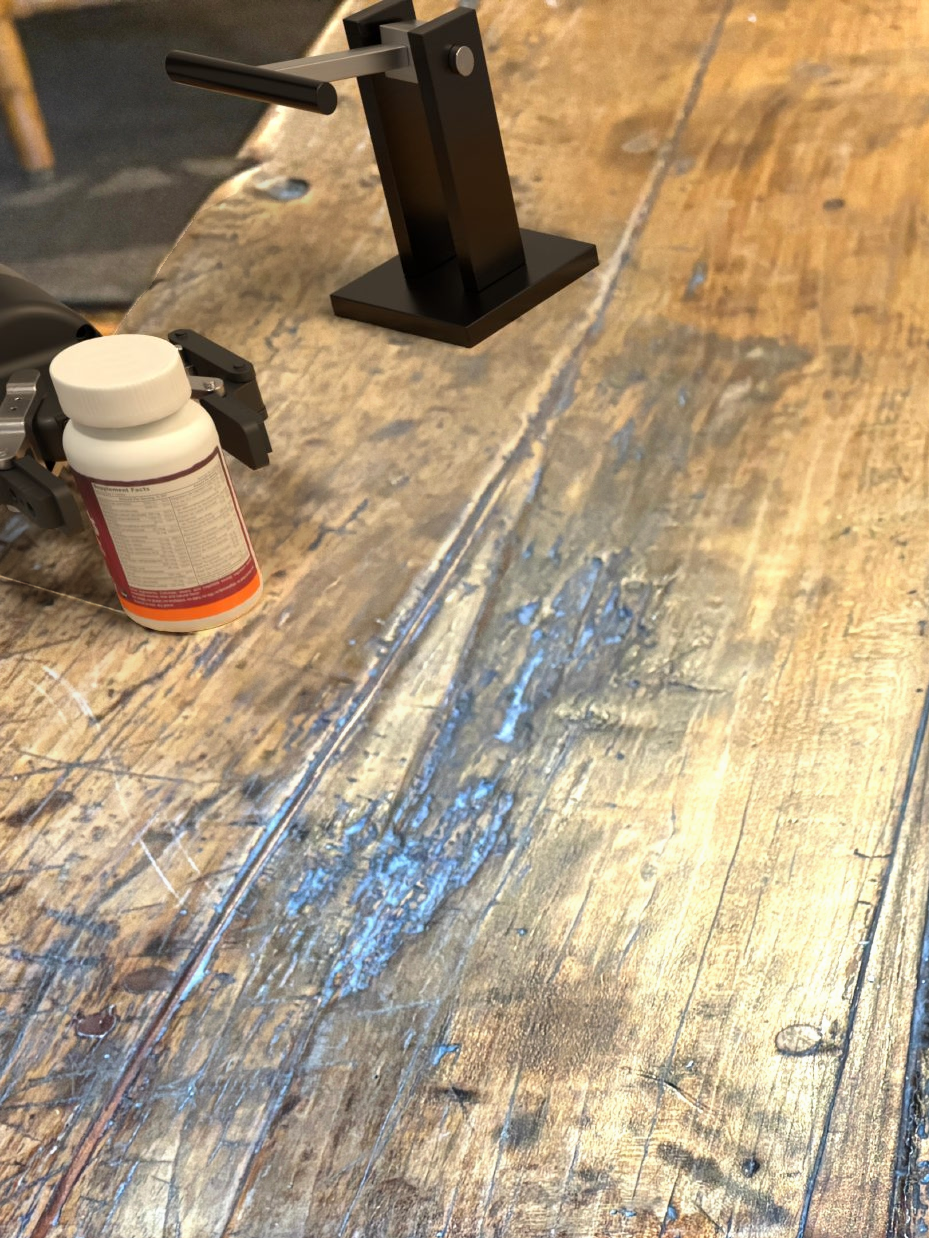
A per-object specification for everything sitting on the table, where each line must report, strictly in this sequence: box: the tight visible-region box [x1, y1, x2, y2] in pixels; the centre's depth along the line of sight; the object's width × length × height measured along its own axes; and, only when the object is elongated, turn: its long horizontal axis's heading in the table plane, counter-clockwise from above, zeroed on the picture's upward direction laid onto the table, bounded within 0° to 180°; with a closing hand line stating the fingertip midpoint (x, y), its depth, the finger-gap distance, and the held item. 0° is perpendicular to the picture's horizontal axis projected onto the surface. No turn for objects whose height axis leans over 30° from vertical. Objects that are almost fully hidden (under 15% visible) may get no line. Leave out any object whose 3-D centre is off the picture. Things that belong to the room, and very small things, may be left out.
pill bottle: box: [49, 333, 264, 633], centre depth 96 cm, size 6×6×11 cm
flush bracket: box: [329, 0, 600, 349], centre depth 118 cm, size 12×9×14 cm
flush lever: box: [164, 18, 428, 116], centre depth 110 cm, size 14×9×2 cm, turn 157°
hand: (167, 479), depth 95 cm, fingers open, 8 cm apart
